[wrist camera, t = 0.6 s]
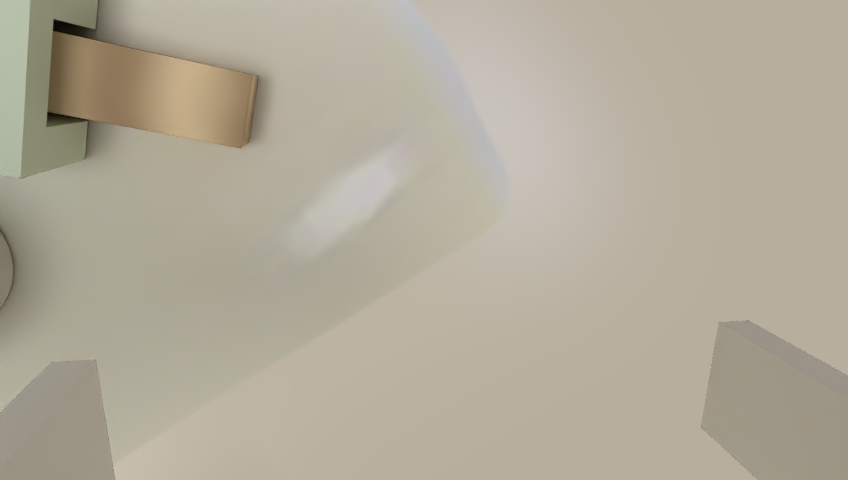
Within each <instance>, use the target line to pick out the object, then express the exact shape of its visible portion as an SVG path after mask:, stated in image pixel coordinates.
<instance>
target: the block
mask: <svg viewBox="0 0 848 480" xmlns="http://www.w3.org/2000/svg"><path fill="white" fill-rule="evenodd" d="M97 6H98V0H0V175H2V176H8V177H14V178H20V179H21V178H24V177H27V176H31V175H34V174H37V173H40V172H44V171H47V170H50V169H54V168H57V167H60V166H63V165H67V164H70V163H73V162H76V161H80V160H83V159H85V152H86V140H87V128H88V121H85V120H80V119H75V118H70V117H65V116H60V115H55V114H49V113H47V110H48V94H49V79H50V64H51V49H52V33H53V20H57V21H61V22H65V23H69V24H74V25H78V26H82V27H87V28H91V29H95V30H96V18H97Z"/></svg>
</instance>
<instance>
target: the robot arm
mask: <svg viewBox="0 0 848 480" xmlns="http://www.w3.org/2000/svg"><path fill="white" fill-rule="evenodd" d="M701 428H702V429H703V430H704V431H705V432H706V433H707V434H708V435H709V436H710V437H712V438H713V439H714V440H715V441H716V442H717V443H718V444H719V445H720V446H721V447H722V448H723V449H725V450H726V451H727V452H728V453H729V454H730V455H731V456H732V457H733V458H734V459H735V460H737V461H738V462H739V463H740V464H741V465H742V466H743V467H744V468H745V469H746V470H747V471H749V472H750V473H751V474H752V475H753V476H754V477H755V478H756V479H757V480H848V375H846V374H844V373H842V372H841V371H839V370H837V369H835V368H833V367H831V366H830V365H828V364H826V363H824V362H822V361H821V360H819V359H817V358H815V357H814V356H812V355H810V354H808V353H806V352H804V351H803V350H801V349H799V348H797V347H796V346H794V345H792V344H790V343H788V342H786V341H785V340H783V339H781V338H779V337H778V336H776V335H774V334H772V333H770V332H769V331H766V330H765V329H763V328H761V327H760V326H758V325H756V324H754V323H752V322H751V321H749V320H748V321H730V322H719V324H718V329H717V335H716V341H715V347H714V353H713V358H712V364H711V370H710V376H709V382H708V388H707V394H706V400H705V406H704V411H703V417H702V424H701ZM0 480H115V475H114V469H113V463H112V457H111V451H110V445H109V438H108V432H107V426H106V420H105V414H104V408H103V401H102V395H101V389H100V383H99V377H98V371H97V364H96V360H83V361H66V362H51V363H50V364H49V365H48V366H47V367H46V368H45V369H44V370H43V371H42V372H41V373H40V374H39V375H38V376H37V377H36V378H35V379H34V380H33V381H32V382H31V383H30V384H29V385H28V386H27V387H26V388H25V389H24V390H23V391H22V392H21V393H20V394H19V395H18V396H17V397H16V398H15V399H14V400H13V401H12V402H11V403H10V404H8V405H7V406H6V407H5V408H4V409H3V410H2V411H1V412H0Z"/></svg>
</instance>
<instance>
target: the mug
mask: <svg viewBox="0 0 848 480" xmlns="http://www.w3.org/2000/svg"><path fill="white" fill-rule="evenodd" d="M12 280H13V261H12V256H11V253H10V250H9V246H8V244H7V242H6V240H5V238H4V236H3V235H2V233H1V232H0V308H1V306H2V305H3V304H4V302H5V300H6V298H7V296H8V294H9V292H10V289H11V286H12Z"/></svg>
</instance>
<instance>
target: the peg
mask: <svg viewBox="0 0 848 480" xmlns="http://www.w3.org/2000/svg"><path fill="white" fill-rule="evenodd" d="M257 82H258V76H255V75H251V74H246V73H242V72H237V71H233V70H228V69H224V68H219V67H215V66H210V65H206V64H201V63H196V62H192V61H187V60H183V59H178V58H174V57H169V56H165V55H160V54H156V53H151V52H147V51H142V50H138V49H133V48H128V47H124V46H119V45H115V44H110V43H106V42H101V41H97V40H92V39H88V38H83V37H79V36H74V35H70V34H65V33H60V32H56V31H53V33H52V49H51V64H50V79H49V94H48V110H47V112H52V113H57V114H62V115H68V116H73V117H78V118H83V119H89V120H94V121H99V122H104V123H110V124H115V125H120V126H126V127H131V128H136V129H141V130H147V131H152V132H157V133H162V134H168V135H173V136H178V137H184V138H189V139H194V140H199V141H205V142H210V143H215V144H220V145H226V146H231V147H236V148H242V147H243V146H245V145H246V144H247V143H249V139H250V132H251V125H252V118H253V111H254V104H255V96H256V89H257Z"/></svg>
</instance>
